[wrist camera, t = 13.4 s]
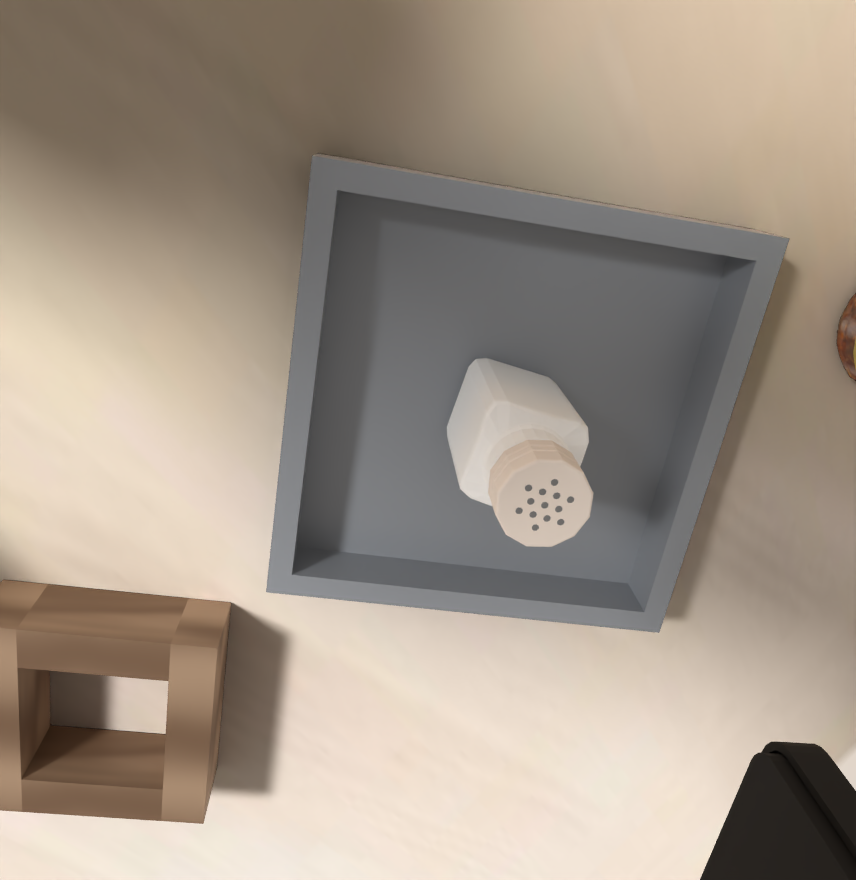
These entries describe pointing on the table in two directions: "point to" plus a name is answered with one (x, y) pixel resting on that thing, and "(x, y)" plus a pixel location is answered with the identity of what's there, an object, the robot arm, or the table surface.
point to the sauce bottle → (848, 338)
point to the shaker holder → (112, 654)
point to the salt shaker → (521, 452)
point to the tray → (517, 344)
